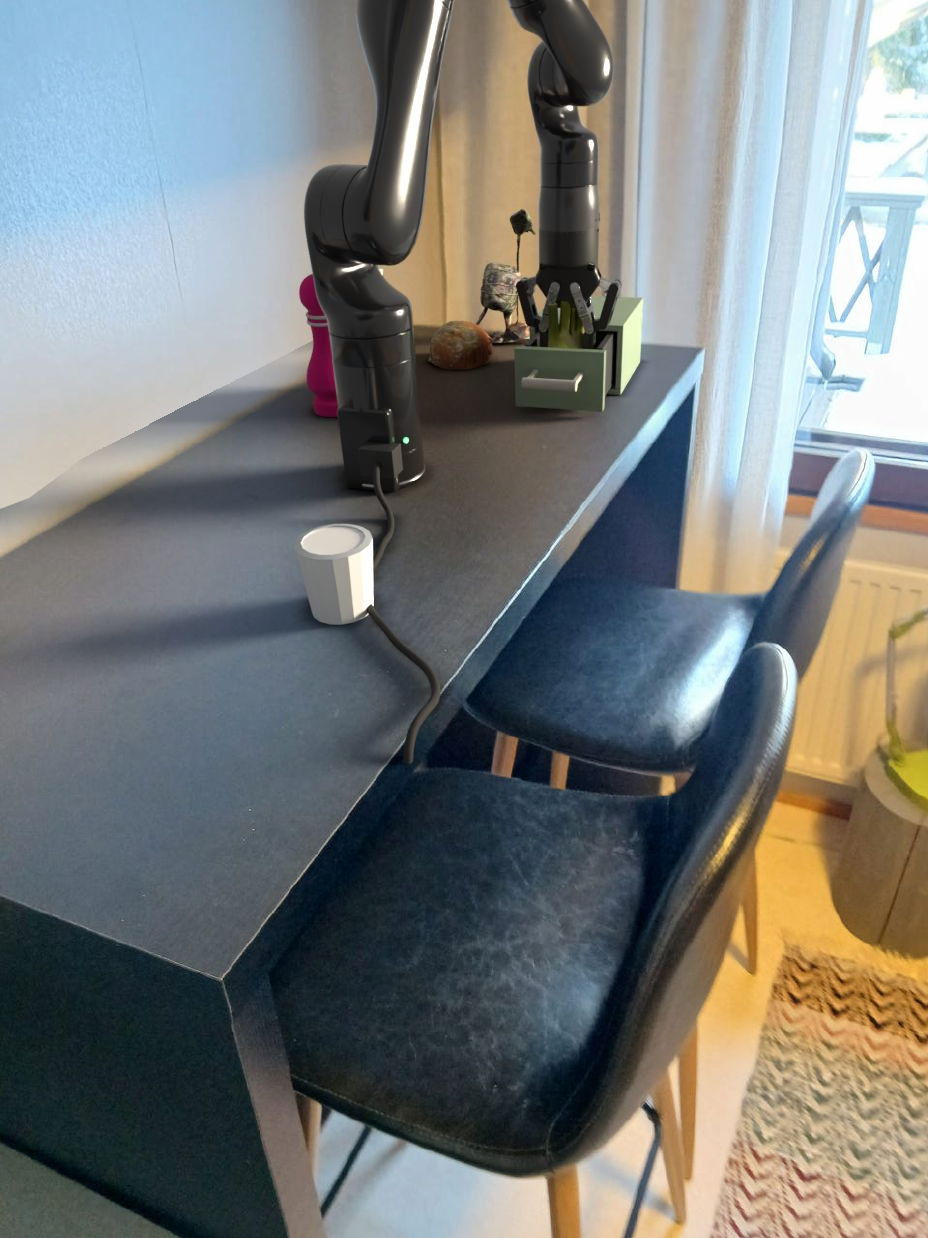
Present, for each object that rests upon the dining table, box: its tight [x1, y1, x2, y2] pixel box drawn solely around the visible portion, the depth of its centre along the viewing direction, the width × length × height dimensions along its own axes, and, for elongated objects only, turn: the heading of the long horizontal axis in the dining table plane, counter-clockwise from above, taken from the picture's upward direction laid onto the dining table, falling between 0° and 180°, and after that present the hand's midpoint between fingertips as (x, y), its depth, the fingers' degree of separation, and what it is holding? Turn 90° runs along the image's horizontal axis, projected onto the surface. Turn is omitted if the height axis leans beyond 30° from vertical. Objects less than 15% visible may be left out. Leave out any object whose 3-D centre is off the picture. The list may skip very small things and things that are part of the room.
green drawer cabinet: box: [529, 295, 644, 396], centre depth 136 cm, size 16×13×10 cm
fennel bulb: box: [548, 301, 585, 349], centre depth 125 cm, size 6×5×12 cm
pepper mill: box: [298, 273, 338, 418], centre depth 126 cm, size 7×7×20 cm
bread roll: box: [428, 320, 494, 371], centre depth 147 cm, size 10×10×8 cm
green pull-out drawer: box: [513, 331, 618, 413], centre depth 126 cm, size 20×12×8 cm, turn 161°
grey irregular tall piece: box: [475, 208, 536, 344], centre depth 152 cm, size 8×11×20 cm
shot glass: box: [293, 523, 375, 626], centre depth 83 cm, size 7×7×7 cm
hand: (567, 358), depth 126 cm, fingers closed on fennel bulb, 4 cm apart
